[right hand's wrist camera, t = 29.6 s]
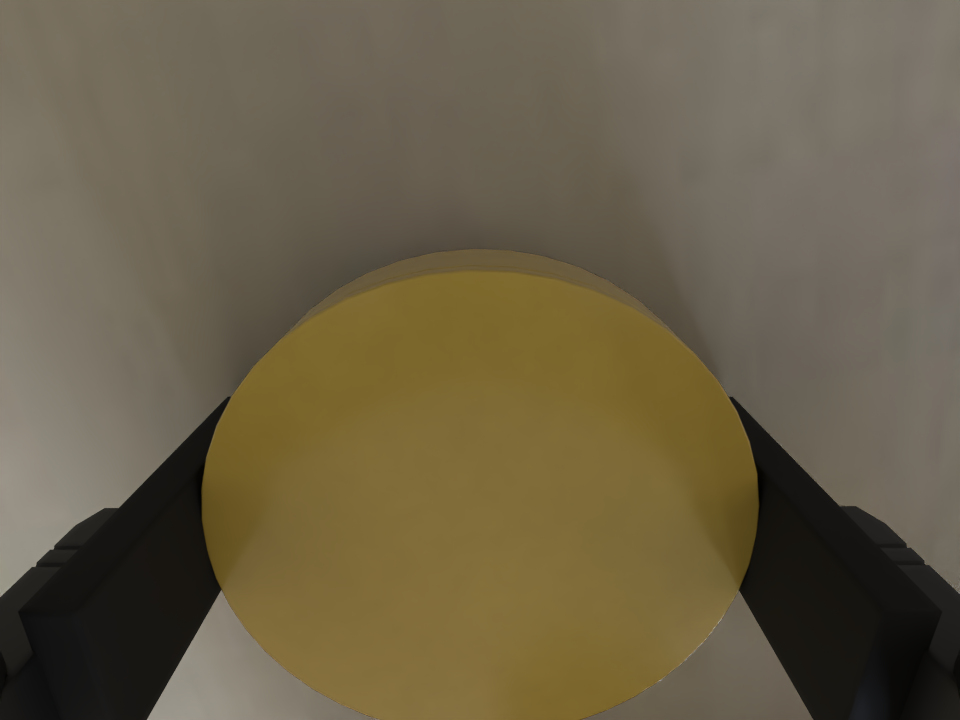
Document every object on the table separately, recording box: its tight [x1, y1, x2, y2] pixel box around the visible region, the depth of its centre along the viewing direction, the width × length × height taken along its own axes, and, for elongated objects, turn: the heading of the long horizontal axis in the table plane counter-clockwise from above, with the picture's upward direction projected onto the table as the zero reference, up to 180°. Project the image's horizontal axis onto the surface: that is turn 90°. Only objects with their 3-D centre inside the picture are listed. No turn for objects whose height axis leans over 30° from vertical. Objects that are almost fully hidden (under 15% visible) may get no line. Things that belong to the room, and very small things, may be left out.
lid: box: [201, 249, 759, 720], centre depth 12 cm, size 10×10×2 cm
